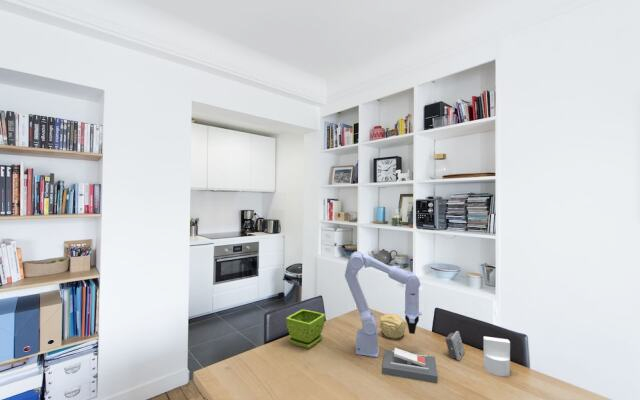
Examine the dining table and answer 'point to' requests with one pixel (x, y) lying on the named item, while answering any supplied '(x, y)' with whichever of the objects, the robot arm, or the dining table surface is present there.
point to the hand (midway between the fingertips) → (411, 333)
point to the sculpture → (392, 325)
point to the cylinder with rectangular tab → (497, 356)
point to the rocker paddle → (409, 357)
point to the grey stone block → (455, 345)
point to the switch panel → (410, 367)
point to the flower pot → (305, 327)
